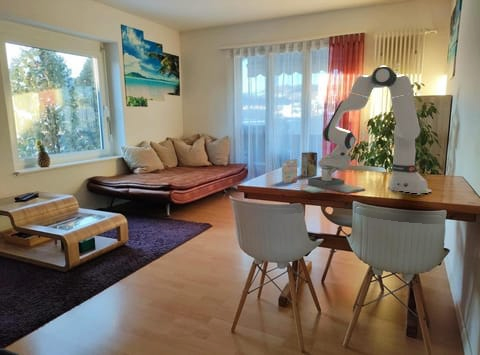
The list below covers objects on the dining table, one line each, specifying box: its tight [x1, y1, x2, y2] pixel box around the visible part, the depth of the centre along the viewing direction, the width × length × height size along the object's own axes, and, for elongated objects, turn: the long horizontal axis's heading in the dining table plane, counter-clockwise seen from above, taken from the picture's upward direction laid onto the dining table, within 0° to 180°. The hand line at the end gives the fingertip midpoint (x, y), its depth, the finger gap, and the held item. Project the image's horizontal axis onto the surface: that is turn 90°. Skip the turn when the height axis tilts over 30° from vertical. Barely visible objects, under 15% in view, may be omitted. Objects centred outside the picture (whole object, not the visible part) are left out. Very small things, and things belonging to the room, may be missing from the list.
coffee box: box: [300, 151, 318, 177], centre depth 236 cm, size 9×6×16 cm
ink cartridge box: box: [281, 158, 298, 184], centre depth 214 cm, size 9×5×15 cm, turn 112°
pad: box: [300, 186, 327, 194], centre depth 192 cm, size 10×10×1 cm
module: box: [321, 167, 333, 181], centre depth 205 cm, size 4×4×8 cm
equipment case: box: [307, 176, 366, 194], centre depth 200 cm, size 30×15×4 cm, turn 32°
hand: (326, 173), depth 205 cm, fingers closed on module, 4 cm apart
